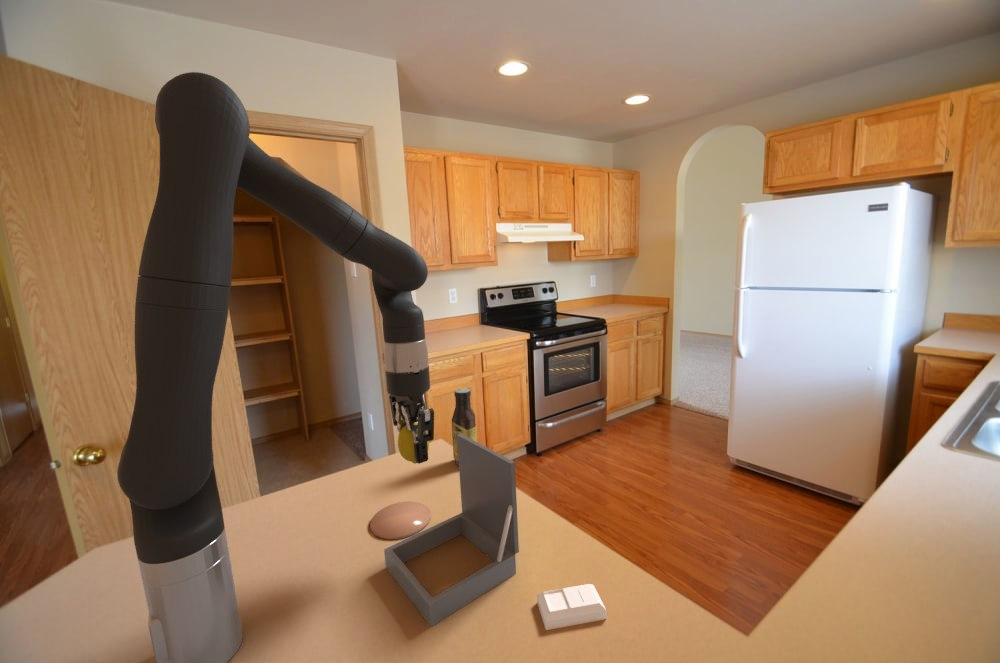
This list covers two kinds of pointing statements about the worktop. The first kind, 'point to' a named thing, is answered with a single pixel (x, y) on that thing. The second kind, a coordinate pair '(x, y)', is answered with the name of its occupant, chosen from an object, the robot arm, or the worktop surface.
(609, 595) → the worktop surface
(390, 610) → the worktop surface
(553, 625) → the white rocker switch
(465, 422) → the sauce bottle
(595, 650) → the worktop surface
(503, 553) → the case
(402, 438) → the lemon
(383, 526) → the saucer
